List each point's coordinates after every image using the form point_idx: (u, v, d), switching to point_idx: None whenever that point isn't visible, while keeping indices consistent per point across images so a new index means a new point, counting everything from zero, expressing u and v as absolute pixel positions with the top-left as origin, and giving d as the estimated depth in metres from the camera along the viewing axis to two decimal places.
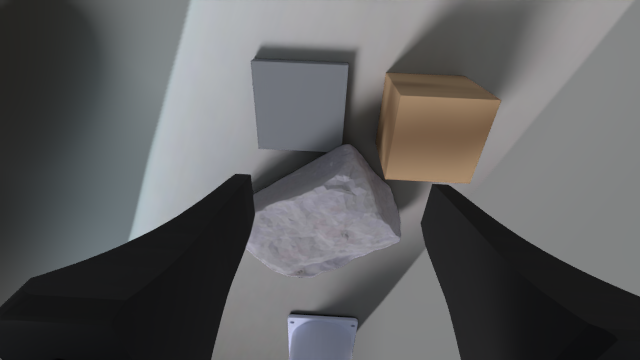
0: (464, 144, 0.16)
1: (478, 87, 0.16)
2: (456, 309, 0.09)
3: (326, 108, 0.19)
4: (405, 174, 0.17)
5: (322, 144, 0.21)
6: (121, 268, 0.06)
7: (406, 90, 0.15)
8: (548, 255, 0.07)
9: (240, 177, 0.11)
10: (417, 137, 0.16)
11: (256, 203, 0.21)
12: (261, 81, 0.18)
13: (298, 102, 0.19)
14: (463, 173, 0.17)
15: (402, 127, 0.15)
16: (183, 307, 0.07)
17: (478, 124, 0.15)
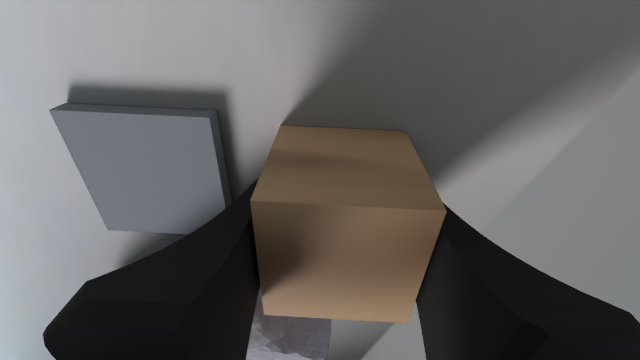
0: (389, 273, 0.09)
1: (417, 165, 0.09)
2: (423, 307, 0.09)
3: (192, 179, 0.12)
4: (295, 310, 0.10)
5: (200, 226, 0.14)
6: (171, 270, 0.06)
7: (274, 182, 0.08)
8: (505, 253, 0.07)
9: None
10: (302, 262, 0.09)
11: None
12: (77, 140, 0.11)
13: (146, 170, 0.12)
14: (394, 311, 0.10)
15: (269, 248, 0.08)
16: (227, 310, 0.07)
17: (408, 246, 0.08)
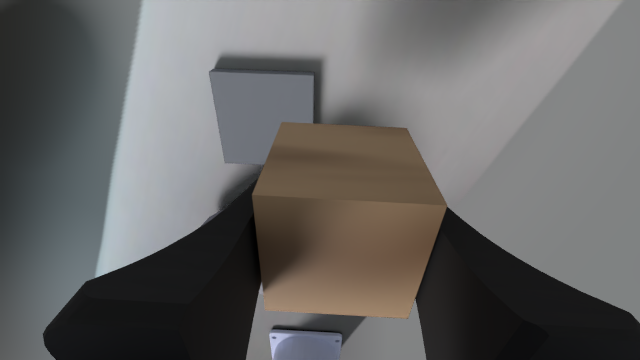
0: (389, 269, 0.09)
1: (417, 161, 0.09)
2: (423, 307, 0.09)
3: (293, 121, 0.18)
4: (296, 305, 0.10)
5: None
6: (171, 270, 0.06)
7: (276, 177, 0.08)
8: (505, 253, 0.07)
9: None
10: (303, 257, 0.09)
11: None
12: (222, 93, 0.17)
13: (263, 115, 0.18)
14: (394, 306, 0.10)
15: (271, 242, 0.08)
16: (227, 310, 0.07)
17: (409, 241, 0.08)
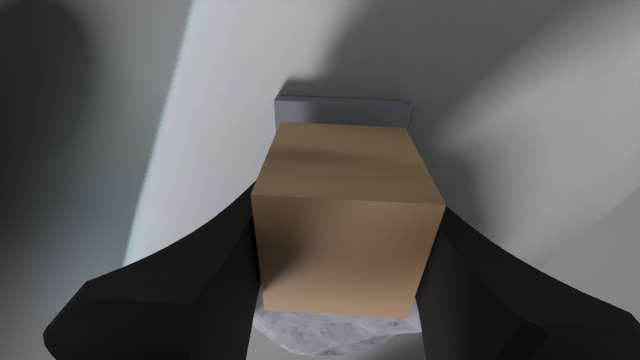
0: (388, 268, 0.09)
1: (417, 161, 0.09)
2: (423, 307, 0.09)
3: None
4: (296, 305, 0.10)
5: None
6: (171, 270, 0.06)
7: (275, 176, 0.08)
8: (505, 253, 0.07)
9: None
10: (302, 256, 0.09)
11: None
12: None
13: None
14: (394, 306, 0.10)
15: (270, 242, 0.08)
16: (227, 310, 0.07)
17: (408, 240, 0.08)
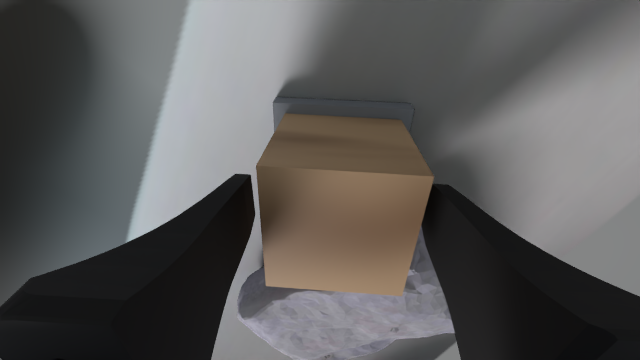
0: (383, 242, 0.09)
1: (409, 144, 0.10)
2: (456, 309, 0.09)
3: None
4: (296, 281, 0.10)
5: None
6: (121, 267, 0.06)
7: (278, 153, 0.09)
8: (548, 255, 0.07)
9: (240, 177, 0.11)
10: (302, 229, 0.09)
11: None
12: None
13: None
14: (389, 282, 0.10)
15: (272, 214, 0.09)
16: (183, 307, 0.07)
17: (400, 213, 0.09)
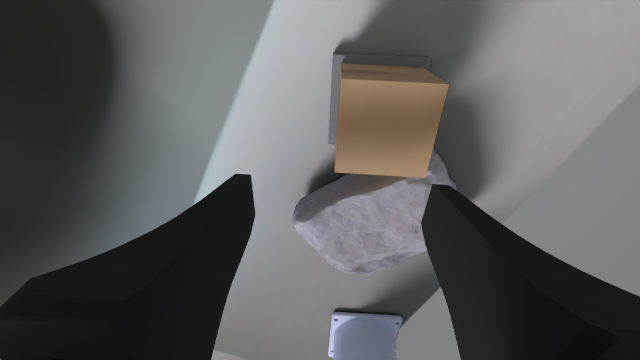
0: (415, 133, 0.15)
1: (431, 75, 0.15)
2: (456, 309, 0.09)
3: None
4: (355, 167, 0.16)
5: None
6: (120, 267, 0.06)
7: (351, 75, 0.14)
8: (548, 255, 0.07)
9: (240, 177, 0.11)
10: (364, 125, 0.15)
11: (325, 198, 0.21)
12: None
13: None
14: (417, 166, 0.16)
15: (347, 114, 0.14)
16: (183, 307, 0.07)
17: (427, 111, 0.14)
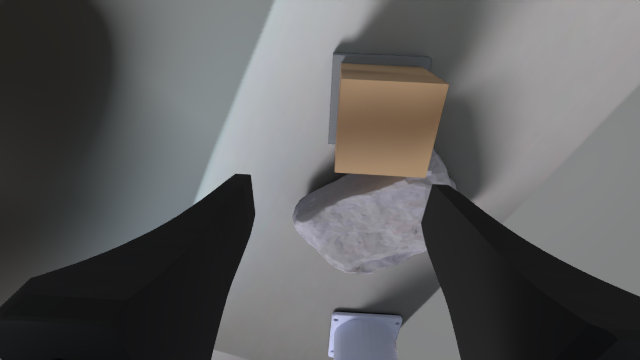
0: (415, 133, 0.15)
1: (431, 75, 0.15)
2: (456, 309, 0.09)
3: None
4: (355, 167, 0.16)
5: None
6: (120, 267, 0.06)
7: (351, 75, 0.14)
8: (548, 255, 0.07)
9: (240, 177, 0.11)
10: (364, 125, 0.15)
11: (325, 198, 0.21)
12: None
13: None
14: (417, 166, 0.16)
15: (347, 114, 0.14)
16: (183, 307, 0.07)
17: (427, 111, 0.14)
